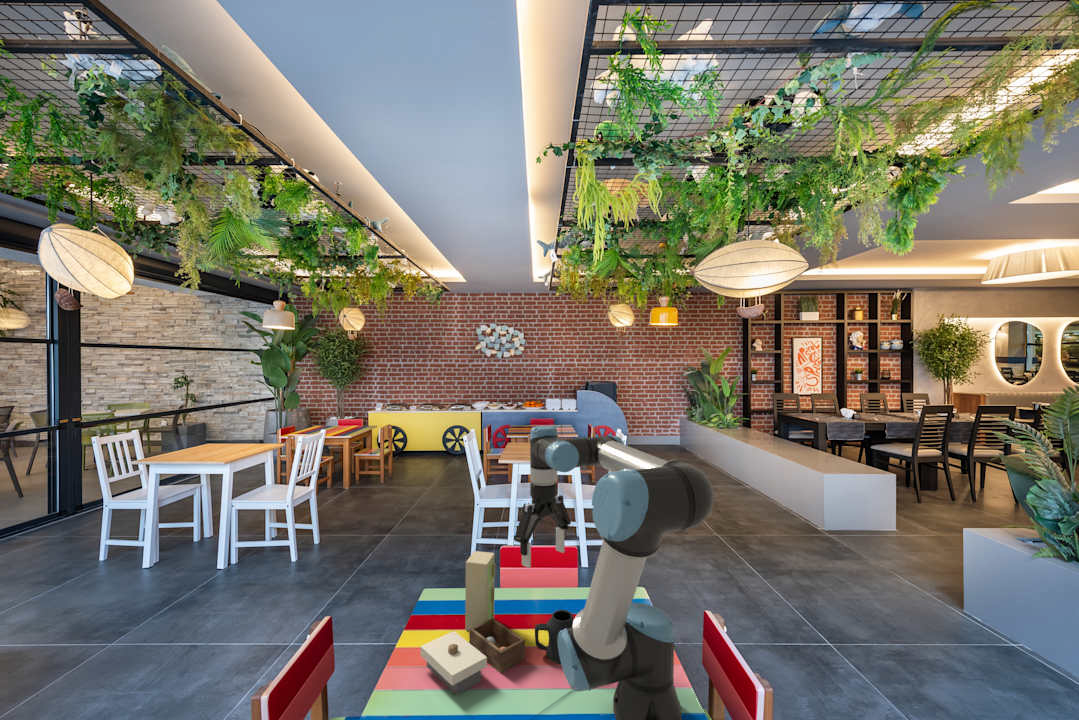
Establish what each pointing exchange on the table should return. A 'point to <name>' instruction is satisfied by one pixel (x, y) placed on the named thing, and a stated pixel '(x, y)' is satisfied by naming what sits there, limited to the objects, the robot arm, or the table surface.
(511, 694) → the table surface
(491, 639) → the ball bluegrey
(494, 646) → the box
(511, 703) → the table surface
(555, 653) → the mug
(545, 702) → the table surface
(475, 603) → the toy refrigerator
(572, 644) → the robot arm
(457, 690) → the block
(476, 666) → the lid
